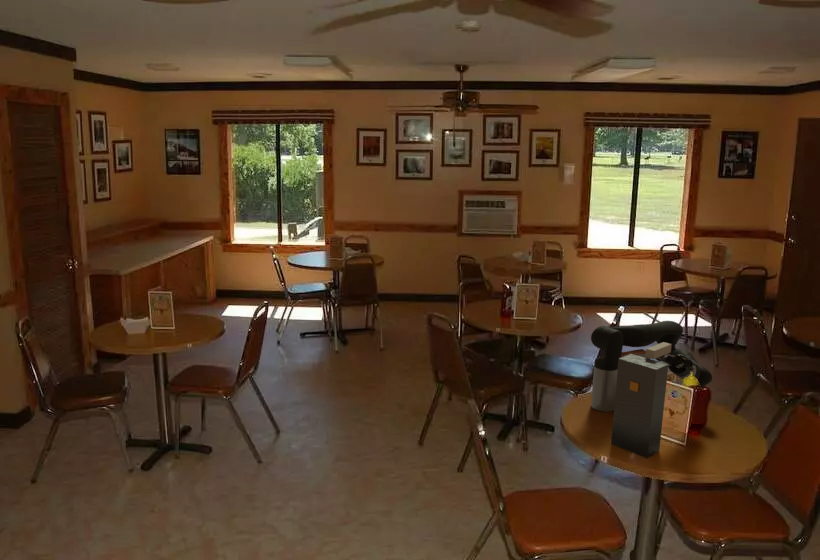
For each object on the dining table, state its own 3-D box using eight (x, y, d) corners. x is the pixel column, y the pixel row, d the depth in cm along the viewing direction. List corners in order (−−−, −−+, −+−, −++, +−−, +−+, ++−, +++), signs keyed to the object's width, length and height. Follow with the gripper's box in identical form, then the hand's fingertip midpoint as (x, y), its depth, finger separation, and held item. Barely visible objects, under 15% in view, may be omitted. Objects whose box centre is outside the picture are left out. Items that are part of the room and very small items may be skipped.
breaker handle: (662, 350, 237) (663, 342, 237) (670, 352, 235) (671, 344, 235) (645, 357, 230) (646, 348, 229) (653, 359, 227) (654, 350, 227)
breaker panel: (623, 437, 241) (630, 353, 234) (659, 451, 230) (668, 364, 223) (610, 444, 235) (617, 358, 228) (646, 459, 225) (655, 370, 218)
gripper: (667, 353, 253) (651, 340, 242) (704, 363, 243) (688, 349, 232) (661, 371, 252) (644, 359, 241) (697, 382, 242) (681, 369, 231)
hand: (666, 354), depth 236 cm, fingers open, 8 cm apart
